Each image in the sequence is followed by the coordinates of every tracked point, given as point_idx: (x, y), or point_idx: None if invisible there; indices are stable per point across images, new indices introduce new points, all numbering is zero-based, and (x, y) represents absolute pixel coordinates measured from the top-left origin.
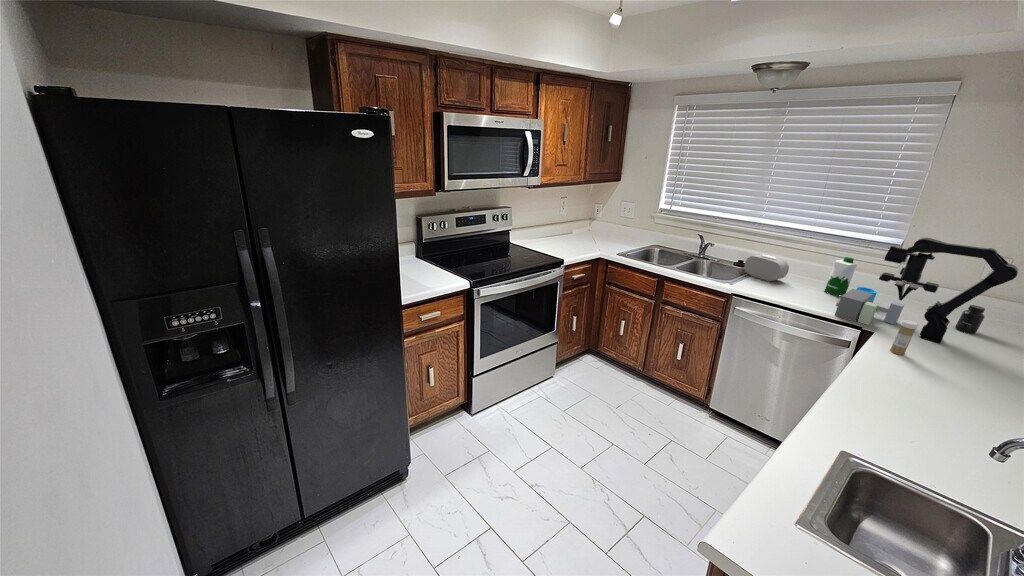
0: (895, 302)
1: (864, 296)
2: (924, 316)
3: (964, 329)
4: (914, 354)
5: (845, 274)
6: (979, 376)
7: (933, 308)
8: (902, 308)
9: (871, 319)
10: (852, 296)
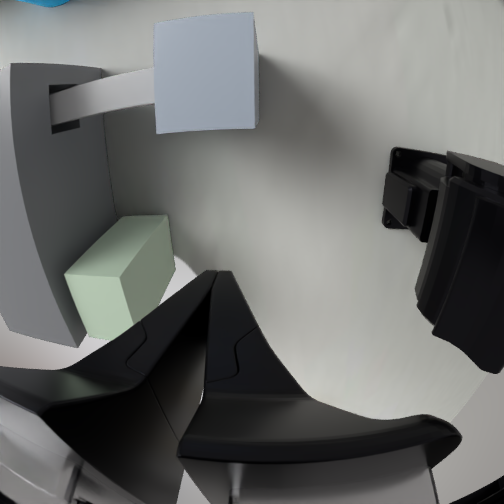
0: (174, 43)
1: (12, 216)
2: (415, 291)
3: None
4: (350, 390)
5: None
6: (456, 376)
7: (472, 349)
8: (255, 55)
9: (163, 249)
10: (10, 292)
